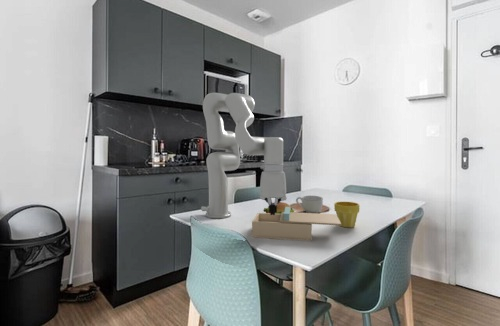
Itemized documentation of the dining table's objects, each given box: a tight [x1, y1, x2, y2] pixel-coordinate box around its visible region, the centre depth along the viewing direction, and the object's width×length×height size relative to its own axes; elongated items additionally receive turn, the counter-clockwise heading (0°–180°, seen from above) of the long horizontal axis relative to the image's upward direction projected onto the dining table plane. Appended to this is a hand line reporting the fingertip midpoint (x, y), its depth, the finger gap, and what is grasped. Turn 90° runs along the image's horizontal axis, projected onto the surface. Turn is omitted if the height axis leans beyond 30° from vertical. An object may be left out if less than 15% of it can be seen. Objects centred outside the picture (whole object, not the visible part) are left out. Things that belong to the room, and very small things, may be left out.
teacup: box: [295, 195, 324, 214], centre depth 144 cm, size 14×11×8 cm
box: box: [251, 212, 313, 242], centre depth 107 cm, size 22×14×6 cm, turn 80°
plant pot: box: [333, 201, 360, 229], centre depth 118 cm, size 10×10×10 cm
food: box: [262, 201, 295, 214], centre depth 129 cm, size 14×14×8 cm
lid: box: [280, 207, 341, 226], centre depth 105 cm, size 22×14×3 cm, turn 80°
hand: (272, 214), depth 108 cm, fingers closed
